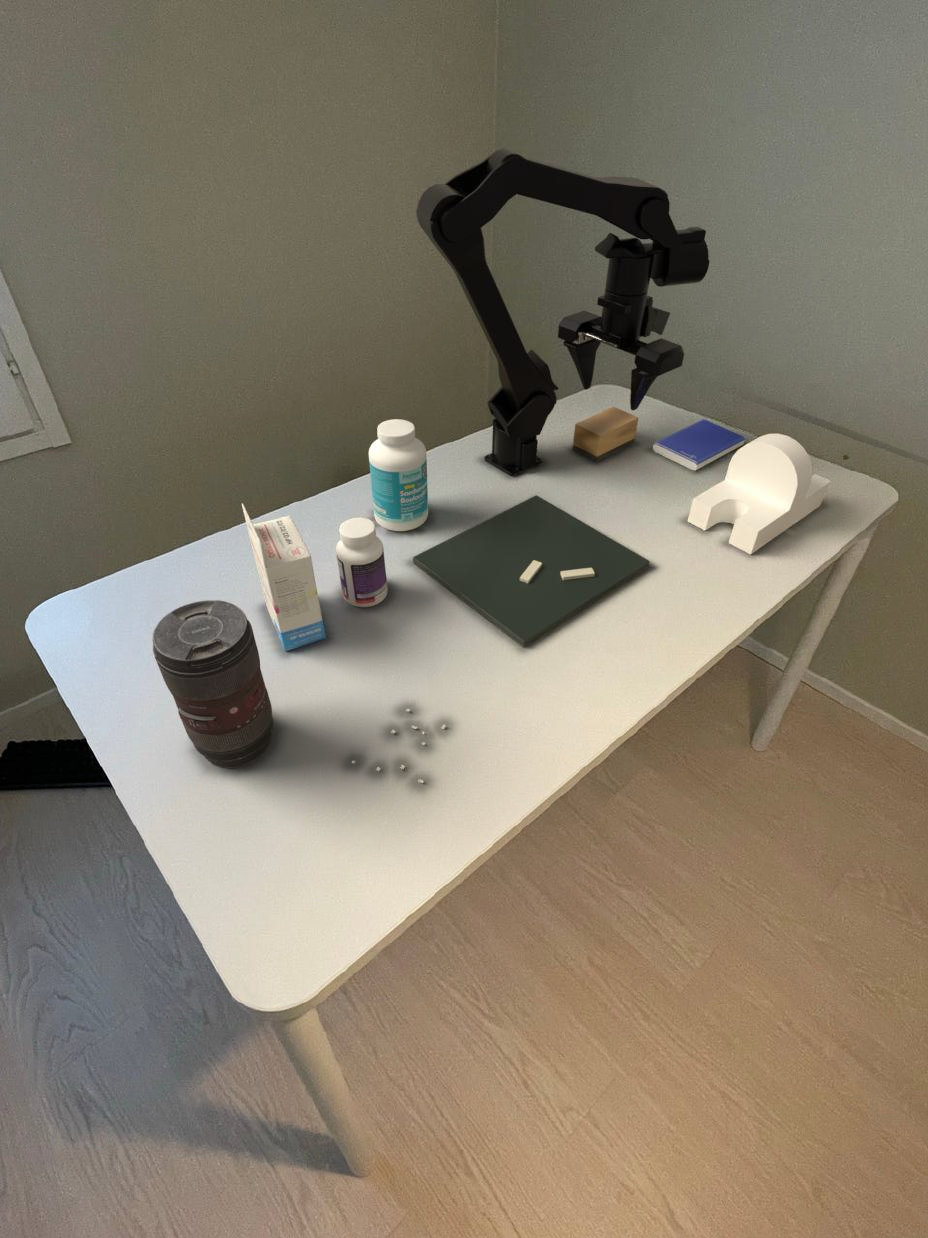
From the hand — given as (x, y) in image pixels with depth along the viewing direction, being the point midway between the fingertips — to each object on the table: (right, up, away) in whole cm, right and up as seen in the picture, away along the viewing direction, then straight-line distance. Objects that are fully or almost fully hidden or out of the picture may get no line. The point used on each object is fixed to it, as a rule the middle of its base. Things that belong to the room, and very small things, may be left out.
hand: (609, 398), depth 106 cm
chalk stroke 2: (-8, -28, -20) cm, 35 cm away
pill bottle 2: (-30, -19, -9) cm, 37 cm away
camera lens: (-44, -45, -37) cm, 73 cm away
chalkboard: (-13, -26, -17) cm, 34 cm away
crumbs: (-28, -45, -37) cm, 65 cm away
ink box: (-41, -34, -25) cm, 59 cm away
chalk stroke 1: (-14, -27, -20) cm, 36 cm away
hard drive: (+15, -6, +5) cm, 17 cm away
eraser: (0, -6, +5) cm, 8 cm away
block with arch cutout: (+19, -19, -8) cm, 27 cm away
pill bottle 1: (-34, -30, -21) cm, 50 cm away
